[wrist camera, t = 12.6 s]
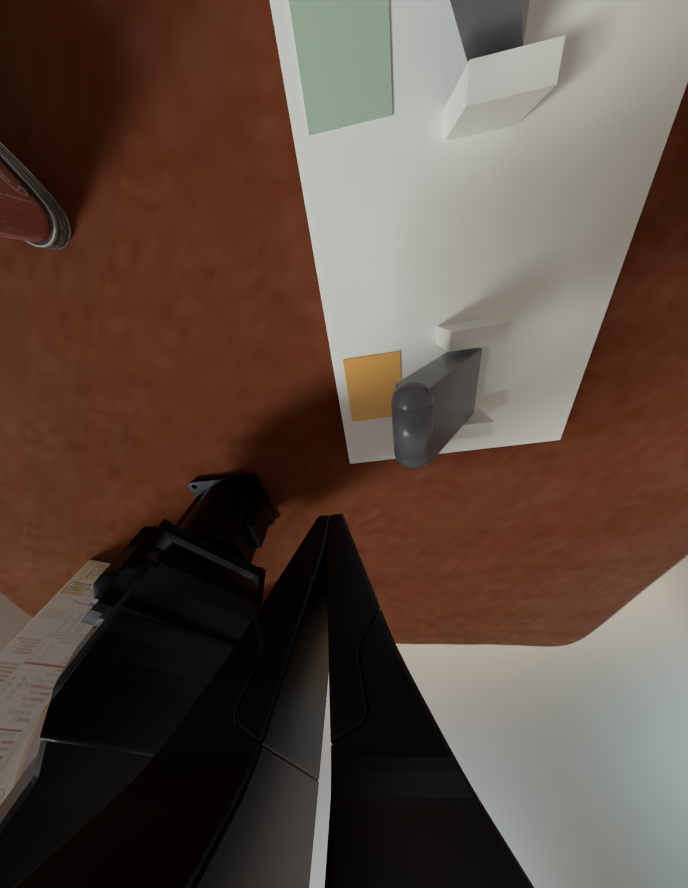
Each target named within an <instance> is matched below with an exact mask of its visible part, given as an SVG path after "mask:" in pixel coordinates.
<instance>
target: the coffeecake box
mask: <svg viewBox="0 0 688 888" xmlns="http://www.w3.org/2000/svg"><path fill="white" fill-rule="evenodd" d="M109 565H110V563H105V562H100V561H94V560H89V561H88V562H87V563H86V564H85V565H84V566H83V567H82V568H81V569H80V570H79V571H78V572H77V573H76V574H75V575H74V576H73V577H72V578H71V579H70V580H69V581H68V582H67V583H66V585H65V586H64V587H63V588H62V589H61V590H60V591H59V592H58V593H57V594H56V595H55V596H54V597H53V598H52V599H51V600H50V601H49V602H48V603H47V604H46V605H45V606H44V607H43V608H42V609H41V610H40V611H39V612H38V613H37V614H36V615H35V616H34V618H33V619H32V620H31V621H30V622H29V623H28V624H27V625H26V626H25V627H24V628H23V629H22V630H21V631H20V632H19V633H18V634H17V635H16V636H15V637H14V638H13V639H12V640H11V641H10V642H9V643H8V644H7V645H6V646H5V647H4V648H3V649H2V651H1V652H0V805H1V804H2V803H3V801H4V800H5V798H6V797H7V796H8V794H9V793H10V791H11V790H12V789H13V787H14V786H15V785H16V783H17V782H18V780H19V779H20V778H21V776H22V775H23V773H24V772H25V771H26V769H27V768H28V766H29V765H30V764H31V762H32V761H33V759H34V758H35V757H36V755H37V754H38V752H39V747H40V743H41V740H40V734H41V730H42V727H43V723H44V720H45V716H46V713H47V710H48V707H49V704H50V700H51V696H52V691H53V688H54V685H55V683H56V681H57V679H58V678H59V676H60V674H61V673H62V671H63V669H64V668H65V666H66V664H67V663H68V661H69V659H70V658H71V656H72V654H73V653H74V651H75V649H76V648H77V646H78V645H79V644H80V642H81V641H82V640H83V639H84V637H85V636H86V635H87V633H88V632H89V631H90V630H91V628H92V627H93V626H94V625H89V624H86V623H83V622H81V620H82V619H83V618H84V616H85V615H86V614H87V613H88V611H89V610H90V609H91V608H92V606H91V605H89V604H90V603H91V602H92V600H93V599H94V591H93V583H94V582H95V581H96V580H97V578H98V577H99V576H100V575H101V574H102V573H103V572H104V571H105V569H106V568H107V567H108V566H109Z"/></svg>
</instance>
